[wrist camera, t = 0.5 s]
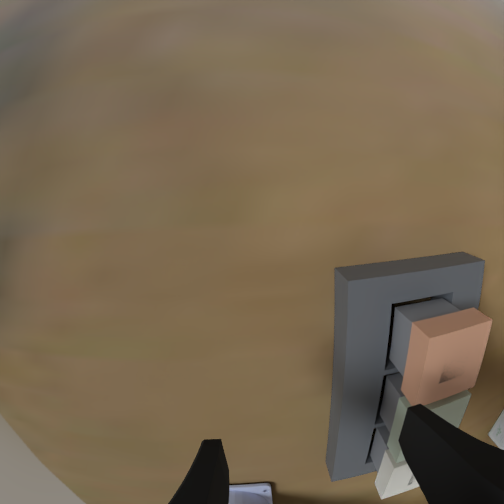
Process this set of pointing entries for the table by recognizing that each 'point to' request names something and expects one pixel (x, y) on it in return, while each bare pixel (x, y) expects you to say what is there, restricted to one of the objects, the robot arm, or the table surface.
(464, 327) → the terracotta key
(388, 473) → the ivory key
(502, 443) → the syrup box
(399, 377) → the sage key
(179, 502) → the robot arm
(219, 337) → the table surface
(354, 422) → the keypad plate
